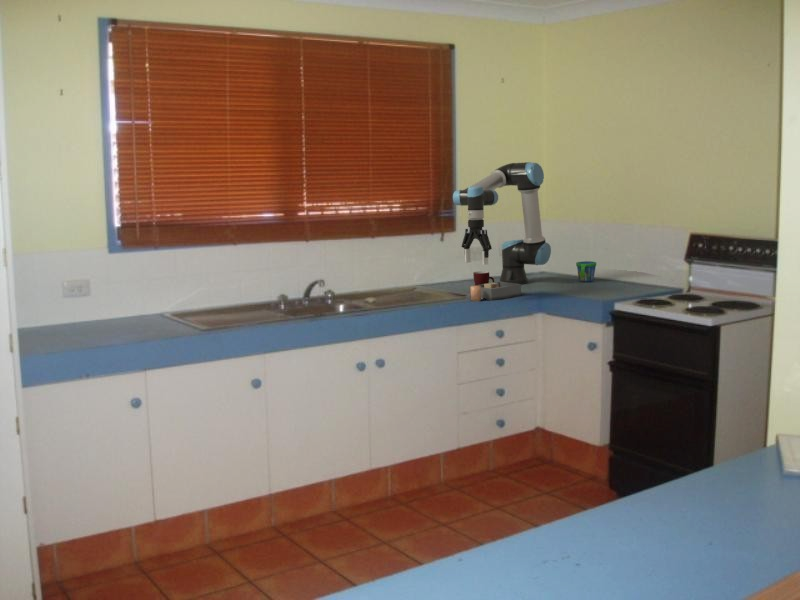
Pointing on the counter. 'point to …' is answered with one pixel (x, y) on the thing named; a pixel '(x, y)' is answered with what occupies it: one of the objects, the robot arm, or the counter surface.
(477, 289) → the terracotta cylinder
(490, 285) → the wood cube
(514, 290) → the tote
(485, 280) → the mug
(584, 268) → the snack cup
